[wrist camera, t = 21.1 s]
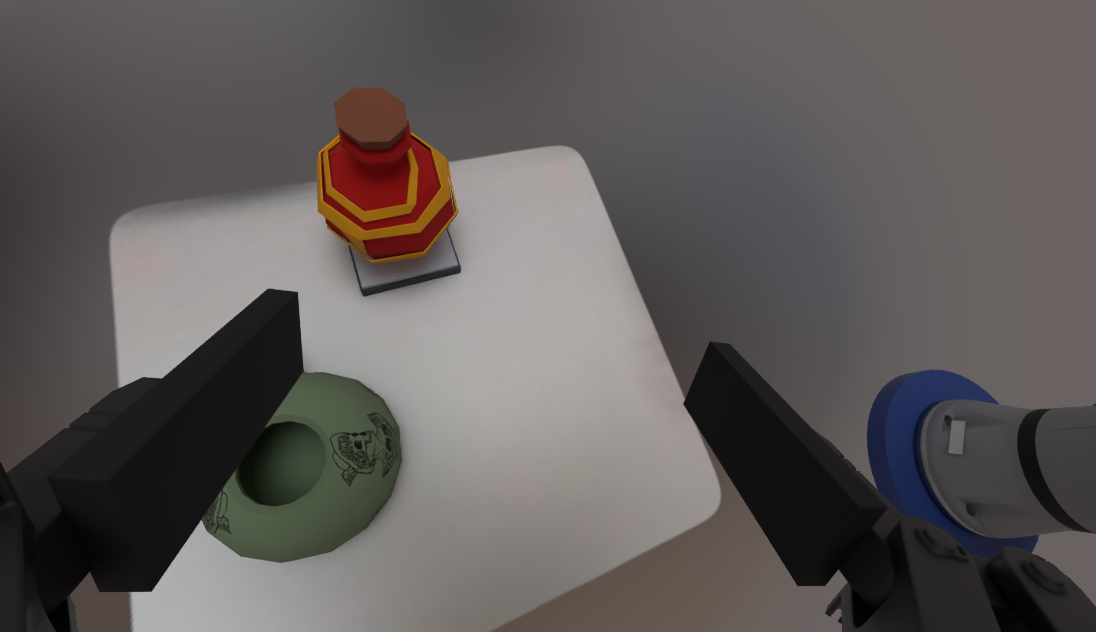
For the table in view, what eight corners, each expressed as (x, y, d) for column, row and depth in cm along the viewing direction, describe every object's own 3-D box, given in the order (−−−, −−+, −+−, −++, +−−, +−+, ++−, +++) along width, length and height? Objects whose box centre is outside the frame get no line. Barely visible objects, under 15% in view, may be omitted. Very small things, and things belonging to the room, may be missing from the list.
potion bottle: (476, 255, 39) (492, 150, 26) (373, 307, 36) (327, 218, 22) (419, 169, 41) (405, 25, 27) (314, 211, 37) (236, 70, 23)
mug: (426, 505, 34) (419, 523, 26) (245, 584, 30) (170, 635, 22) (371, 325, 37) (350, 290, 29) (201, 374, 33) (122, 349, 25)
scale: (433, 193, 42) (433, 184, 41) (460, 272, 40) (461, 265, 39) (339, 210, 39) (335, 201, 38) (363, 296, 38) (360, 290, 36)
